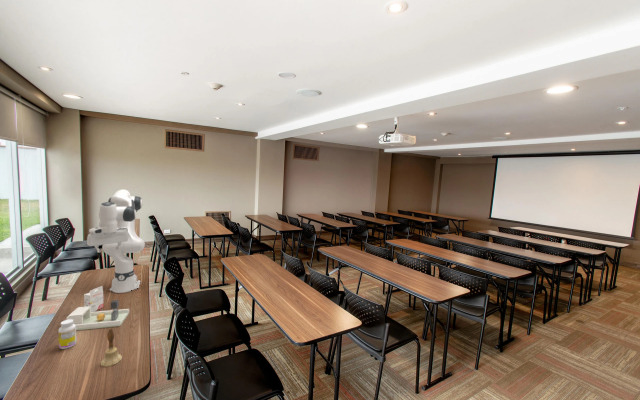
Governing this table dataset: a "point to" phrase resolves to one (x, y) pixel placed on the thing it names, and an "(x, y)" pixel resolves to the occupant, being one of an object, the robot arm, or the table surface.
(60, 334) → the supplement bottle
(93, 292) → the ink cartridge box
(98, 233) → the robot arm
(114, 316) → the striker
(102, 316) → the ball
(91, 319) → the tray
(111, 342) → the hand bell
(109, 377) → the table surface
